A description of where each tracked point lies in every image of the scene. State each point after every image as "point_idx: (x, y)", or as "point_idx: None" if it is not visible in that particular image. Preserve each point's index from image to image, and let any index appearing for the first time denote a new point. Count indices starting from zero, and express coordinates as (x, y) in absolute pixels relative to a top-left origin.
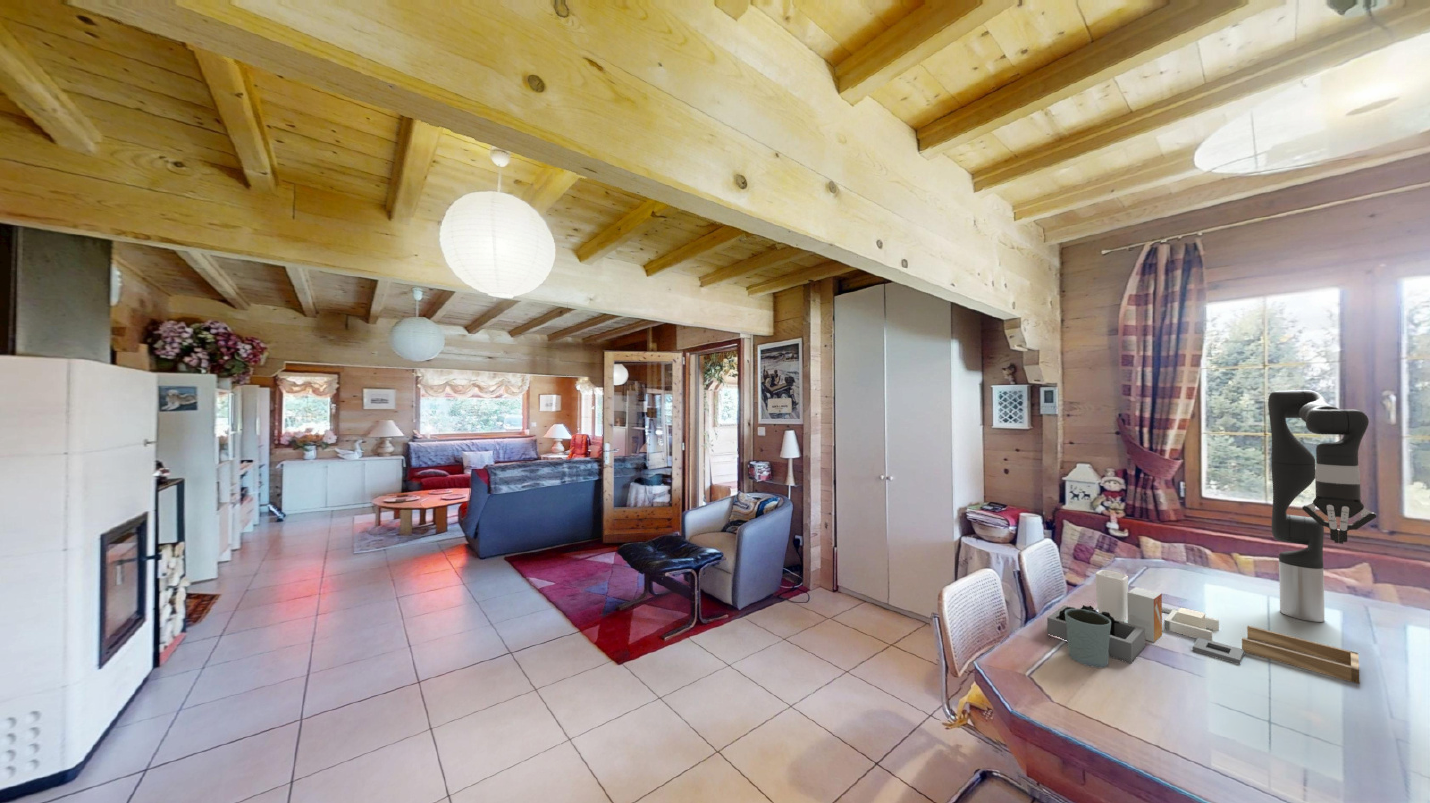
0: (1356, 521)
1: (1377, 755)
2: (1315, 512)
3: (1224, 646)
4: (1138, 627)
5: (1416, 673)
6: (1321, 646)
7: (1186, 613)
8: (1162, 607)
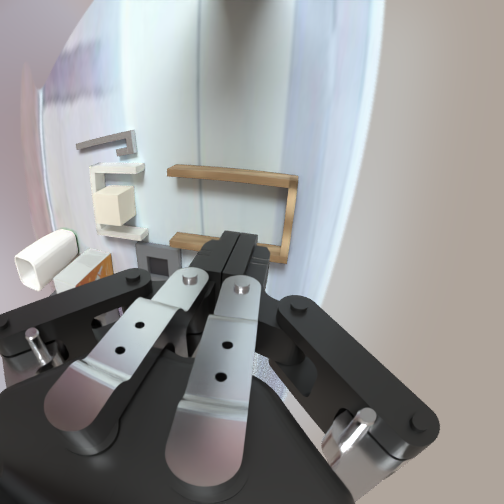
0: (307, 352)
1: (271, 387)
2: (57, 317)
3: (161, 256)
4: (101, 318)
5: (361, 146)
6: (255, 183)
7: (104, 220)
8: (81, 143)
